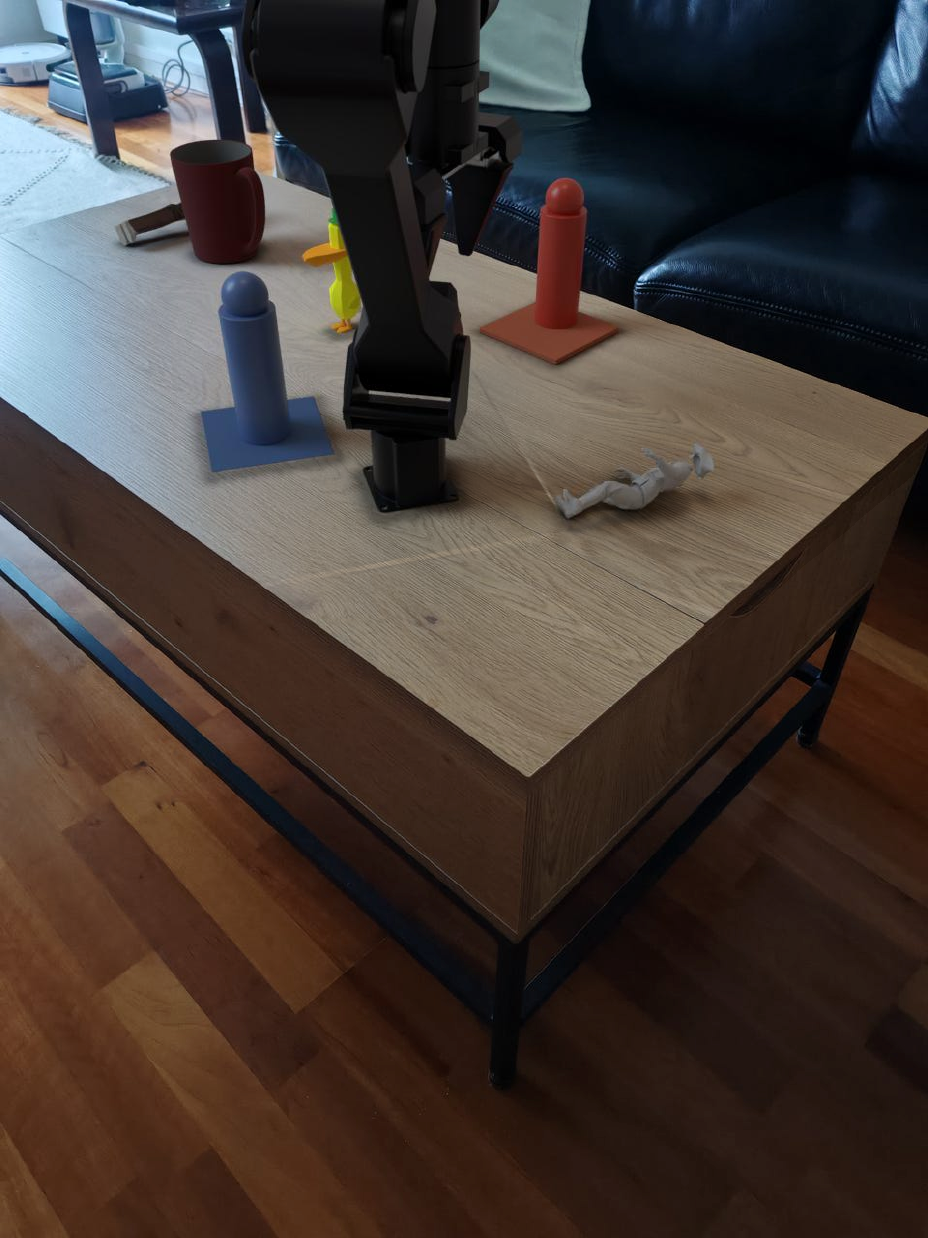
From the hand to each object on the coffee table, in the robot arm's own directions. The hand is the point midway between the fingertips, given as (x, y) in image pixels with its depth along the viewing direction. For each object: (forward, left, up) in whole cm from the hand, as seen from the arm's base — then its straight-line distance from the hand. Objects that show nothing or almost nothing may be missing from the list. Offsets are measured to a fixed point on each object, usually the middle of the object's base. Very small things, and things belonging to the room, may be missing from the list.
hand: (441, 274), depth 79 cm
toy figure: (+17, +6, -12) cm, 22 cm away
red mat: (+11, -14, -12) cm, 22 cm away
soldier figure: (-19, -10, -12) cm, 25 cm away
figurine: (+48, +19, -12) cm, 53 cm away
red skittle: (+13, -15, -12) cm, 23 cm away
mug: (+40, +14, -12) cm, 44 cm away
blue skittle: (-1, +16, -12) cm, 20 cm away
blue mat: (-1, +16, -12) cm, 20 cm away
